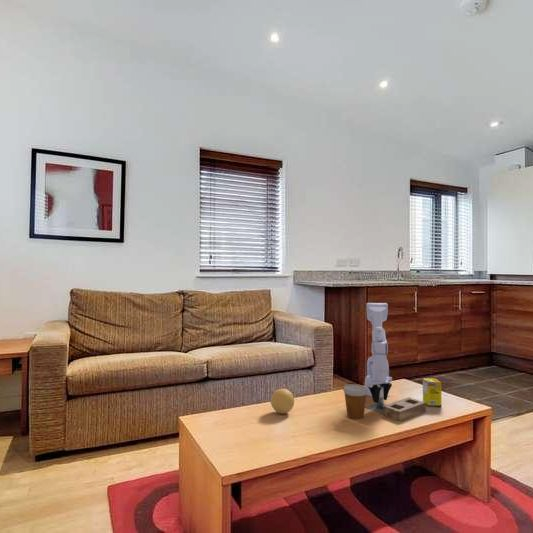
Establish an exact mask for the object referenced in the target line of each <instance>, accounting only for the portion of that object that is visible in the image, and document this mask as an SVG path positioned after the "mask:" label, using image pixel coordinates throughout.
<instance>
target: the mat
mask: <svg viewBox="0 0 533 533" xmlns="http://www.w3.org/2000/svg"><path fill="white" fill-rule="evenodd" d="M385 405H386V404H385V403H384V406H385ZM364 409H367V410H370V411H374V412H376V413H379V414H381V415H383V409H378V408H377V405H376V403H375V404H372V405H369V406H365V408H364Z"/></svg>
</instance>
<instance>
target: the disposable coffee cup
mask: <svg viewBox="0 0 533 533" xmlns="http://www.w3.org/2000/svg"><path fill="white" fill-rule="evenodd" d="M343 393H344V399H345V408H346V416H347V417H348V418H349V419H351V420H363V418H364V417H365V416H364V415H365V409H366V408H365V407H366V397H367V395H366V394H367V390H366V387H365V385H361V384H353V383H352V384H350V383H349V384H345V385H344V388H343Z"/></svg>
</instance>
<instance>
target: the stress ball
mask: <svg viewBox="0 0 533 533" xmlns="http://www.w3.org/2000/svg"><path fill="white" fill-rule="evenodd" d="M270 405H271V407H272V408H273V410H274V411H275V412H276V413H278V414H280V415H286V414H287V413H289V412H291V410H293V408H294V405H295V397H294V395H293V393H292V392H291V391H290V390H289V389H287V388H278V389H276V390H274V391H273V393H272V394H271V398H270Z"/></svg>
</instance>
